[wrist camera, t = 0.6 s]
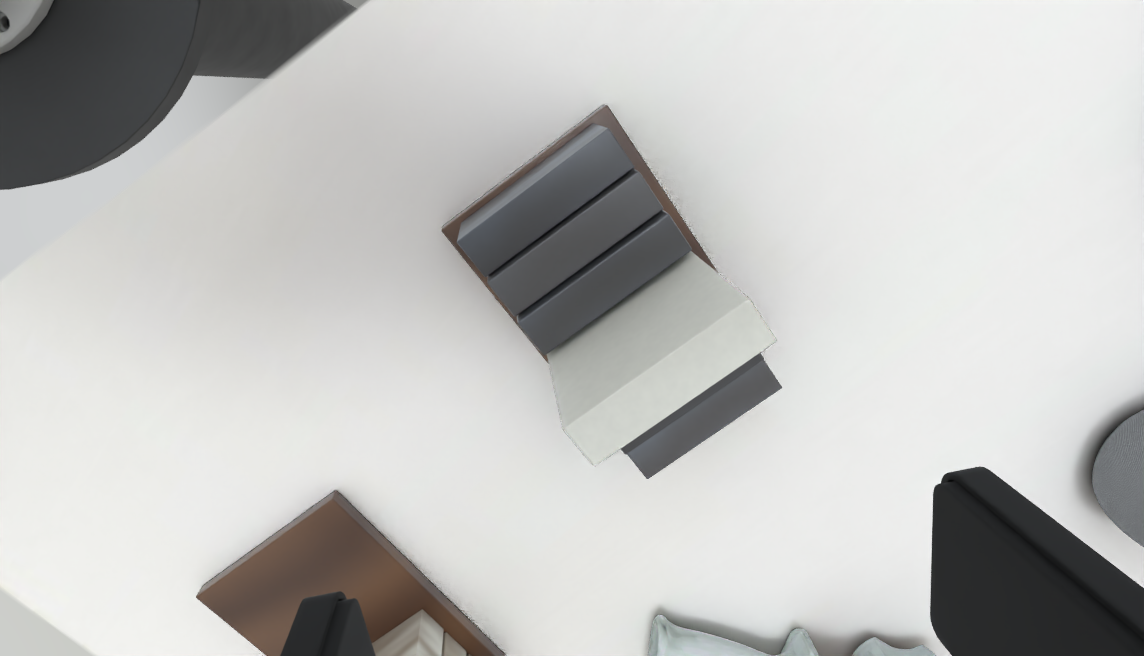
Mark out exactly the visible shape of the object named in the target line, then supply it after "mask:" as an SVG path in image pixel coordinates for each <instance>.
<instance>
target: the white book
mask: <svg viewBox="0 0 1144 656" xmlns="http://www.w3.org/2000/svg"><path fill="white" fill-rule="evenodd" d="M776 341H777V340H776V338H775V337H774V335H773V334H772V332H771V331H770V329H769V327H768V326H767V324H766V323H765V321H764V320H763V318H762V317H761V315H760V314H759V312H758V311H757V309H756V308H755V306H754V304H753V303H752V301H751V300H750V299H749V298H748V297H747V296H746V295H745V294H743V293H742V292H741V291H740V290H738V289H737V288H736V287H735V286H733V285H732V284H731V283H730V282H728V281H727V280H726V279H725V278H724V277H722V276H721V275H720V274H719V273H717V272H716V271H715V270H714V269H712V268H711V267H710V266H709V265H707V264H706V263H705V262H704V261H703V260H701V259H700V258H699V257H698V256H696V255H695V254H694V253H693V252H691V251H690V252H689V253H687V254H686V255H684V256H683V257H682V258H680V259H679V260H677V261H676V262H675V263H673V264H672V265H671V266H669V267H668V268H666V269H665V270H664V271H662V272H661V273H659V274H658V275H657V276H655V277H654V278H652V279H651V280H650V281H648V282H647V283H645V284H644V285H643V286H641V287H640V288H638V289H637V290H636V291H634V292H633V293H631V294H630V295H629V296H627V297H626V298H624V299H623V300H622V301H620V302H619V303H617V304H616V305H615V306H613V307H612V308H611V309H609V310H608V311H606V312H605V313H604V314H602V315H601V316H599V317H598V318H597V319H595V320H594V321H592V322H591V323H590V324H588V325H587V326H585V327H584V328H583V329H581V330H580V331H578V332H577V333H576V334H574V335H573V336H571V337H570V338H569V339H567V340H566V341H564V342H563V343H562V344H560V345H559V346H557V347H556V348H555V349H553V350H552V351H551V352H549V353H548V354H547V358H548V362H549V367H550V372H551V377H552V381H553V386H554V391H555V396H556V400H557V405H558V410H559V414H560V419H561V424H562V429H563V431H564V432H565V433H566V434H567V435H568V437H569V438H570V439H571V440H572V441H573V443H574V444H575V445H576V446H577V447H578V449H579V450H580V451H581V452H582V453H583V455H584V456H585V457H586V458H587V459H588V461H589V462H590V463H591V464H592V465H593V466H594V467H595V466H596V465H598V464H599V463H601V462H602V461H604V460H605V459H606V458H608V457H609V456H611V455H612V454H614V453H615V452H617V451H618V450H619V449H621V448H622V447H624V446H625V445H627V444H628V443H630V442H631V441H633V440H634V439H635V438H637V437H638V436H640V435H641V434H643V433H644V432H646V431H647V430H649V429H650V428H651V427H653V426H654V425H656V424H657V423H659V422H660V421H662V420H663V419H664V418H666V417H667V416H669V415H670V414H672V413H673V412H675V411H676V410H678V409H679V408H680V407H682V406H683V405H685V404H686V403H688V402H689V401H691V400H692V399H693V398H695V397H696V396H698V395H699V394H701V393H702V392H704V391H705V390H707V389H708V388H709V387H711V386H712V385H714V384H715V383H717V382H718V381H720V380H721V379H722V378H724V377H725V376H727V375H728V374H730V373H731V372H733V371H734V370H736V369H737V368H738V367H740V366H741V365H743V364H744V363H746V362H747V361H749V360H750V359H751V358H753V357H754V356H756V355H757V354H759V353H760V352H762V351H763V350H765V349H766V348H767V347H769V346H770V345H772V344H773V343H775V342H776Z"/></svg>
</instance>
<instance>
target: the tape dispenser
mask: <svg viewBox="0 0 1144 656" xmlns="http://www.w3.org/2000/svg"><path fill="white" fill-rule="evenodd" d="M648 656H819V654H818V652H817V650H816V648H815V646H814V644H813V642H812V640H811V638H810V636H809V634H808V633H807V631H806V630H804V629H800V628H797V629H794V630H793V631H791V633H790V634H789V636H788V638H787V640H786V643H785V645H784V647H783V650H782V652H781V654H779V655H769V654H766V653H764V652H761V651H758V650H756V649H753V648H751V647H748V646H746V645H743V644H741V643H738V642H734V641H731V640H728V639H725V638H722V637H718V636H715V635H711V634H708V633H704V632H700V631H695V630H691V629H686V628H682V627H679V626H676V625H674V624H672V623H671V622H669V621H668V620H667V619H666V617H665V616H663V615H657V616H656V617H655V619H654V621H653V624H652V631H651V637H650V643H649V653H648ZM852 656H936V655H935V654H934V653H933V652H932V651H930V650H929V649H928V648H927V647H925V646H924V645H920V646H917V647H915V648H911V649H897V648H894V647H891V646H889V645H887V644H886V643H884V642H882V641H881V640H879V639H878V638H876V637H873V638H871V639H869V640H867V641H865V642H864V643H862V644H861V645H860V646H859V647H858V648H857V649H856V650H855V651H854V653H853V655H852Z"/></svg>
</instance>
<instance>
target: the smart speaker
mask: <svg viewBox="0 0 1144 656" xmlns="http://www.w3.org/2000/svg"><path fill="white" fill-rule="evenodd" d="M1092 484H1093V489H1094V492H1095V495H1096V498H1097V500H1098V502H1099V504H1100V506H1101V507H1102V509H1103V510H1104V512H1105V513H1106V514H1107V516H1108V517H1109V518H1110V519H1111V520H1112V521H1113V522H1114V523H1115V524H1116V525H1117V526H1118V527H1119V528H1120V529H1121V530H1122V531H1123V532H1124V533H1125V534H1127V535H1128V536H1129V537H1130V538H1132V539H1133V540H1134V541H1136V542H1137V543H1139V544H1140V545H1141V546H1143V547H1144V410H1142V411H1140V412H1138V413H1136V414H1134V415H1132V416H1131V417H1129V418H1128V419H1126V420H1125V421H1123V422H1122V423H1121V424H1120V425H1119V426H1117V427H1116V428H1115V429H1114V430H1113V431H1112V432H1111V434H1110V435H1109V436H1108V437H1107V438H1106V440H1105V441H1104V443H1103V444H1102V446H1101V448H1100V449H1099V452H1098V454H1097V456H1096V459H1095V462H1094V466H1093V472H1092Z"/></svg>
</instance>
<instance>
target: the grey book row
mask: <svg viewBox="0 0 1144 656" xmlns="http://www.w3.org/2000/svg"><path fill="white" fill-rule="evenodd" d="M442 232H443V233H444V235H445V236H446V237H447V238H448V240H449V241H450V242H451V243H452V245H453V246H454V247H455V248H456V250H457V251H458V252H459V253H460V255H461V256H462V257H463V258H464V260H465V261H466V262H467V263H468V264H469V266H470V267H471V268H472V269H473V271H474V272H475V273H476V274H477V276H478V277H479V278H480V279H481V281H482V282H483V283H484V284H485V286H486V287H487V288H488V289H489V290H490V292H491V293H492V294H493V295H494V297H495V298H496V299H497V300H498V302H499V303H500V304H501V305H502V307H503V308H504V309H505V310H506V312H507V313H508V314H509V315H510V317H511V318H512V319H513V320H514V321H515V323H516V324H517V325H518V326H519V328H520V329H521V330H522V331H523V333H524V334H525V335H526V336H527V338H528V339H529V340H530V341H531V343H532V344H533V345H534V346H535V347H536V349H537V350H538V351H539V352H540V354H541V355H542V356H543V357H544V359H545V360H546V361H547V362H548V358H547V354H548V353H549V352H551V351H552V350H553V349H555V348H556V347H557V346H559V345H560V344H562V343H563V342H564V341H566V340H567V339H569V338H570V337H571V336H573V335H574V334H576V333H577V332H578V331H580V330H581V329H583V328H584V327H585V326H587V325H588V324H590V323H591V322H592V321H594V320H595V319H597V318H598V317H599V316H601V315H602V314H604V313H605V312H606V311H608V310H609V309H611V308H612V307H613V306H615V305H616V304H617V303H619V302H620V301H622V300H623V299H624V298H626V297H627V296H629V295H630V294H631V293H633V292H634V291H636V290H637V289H638V288H640V287H641V286H643V285H644V284H645V283H647V282H648V281H650V280H651V279H652V278H654V277H655V276H657V275H658V274H659V273H661V272H662V271H664V270H665V269H666V268H668V267H669V266H671V265H672V264H673V263H675V262H676V261H677V260H679V259H680V258H682V257H683V256H684V255H686V254H687V253H689V252H690V251H691V252H693V253H694V254H695V255H696V256H698V257H699V258H700V259H701V260H703V261H704V262H705V263H706V264H707V265H709V266H710V267H711V268H712V269H714V270H715V271H716V272H717V270H716V269H715V267H714V266H713V264H712V263H711V261H710V260H709V258H708V257H707V255H706V254H705V252H704V251H703V249H702V248H701V246H700V245H699V243H698V242H697V240H696V239H695V237H694V236H693V234H692V233H691V231H690V229H689V228H688V226H687V225H686V223H685V222H684V220H683V219H682V217H681V216H680V214H679V213H678V211H677V210H676V208H675V207H674V205H673V204H672V202H671V201H670V199H669V198H668V196H667V195H666V193H665V192H664V190H663V189H662V187H661V186H660V184H659V183H658V181H657V180H656V178H655V177H654V175H653V174H652V172H651V170H650V169H649V167H648V166H647V164H646V163H645V161H644V160H643V158H642V157H641V155H640V154H639V152H638V151H637V149H636V148H635V146H634V145H633V143H632V142H631V140H630V139H629V137H628V136H627V134H626V133H625V131H624V130H623V128H622V127H621V125H620V124H619V122H618V121H617V119H616V118H615V116H614V114H613V113H612V111H611V110H610V108H609V107H608V106H607V105H602V106H601V107H600V108H598V109H597V110H596V111H594V112H593V113H592V114H590V115H589V116H588V117H586V118H585V119H584V120H582V121H581V122H580V123H578V124H577V125H576V126H574V127H573V128H572V129H571V130H569V131H568V132H567V133H565V134H564V135H563V136H561V137H560V138H559V139H557V140H556V141H555V142H553V143H552V144H551V145H549V146H548V147H547V148H545V149H544V150H543V151H541V152H540V153H539V154H537V155H536V156H535V157H533V158H532V159H531V160H529V161H528V162H527V163H525V164H524V165H523V166H522V167H520V168H519V169H518V170H516V171H515V172H514V173H512V174H511V175H510V176H508V177H507V178H506V179H504V180H503V181H502V182H500V183H499V184H498V185H496V186H495V187H494V188H492V189H491V190H490V191H488V192H487V193H486V194H484V195H483V196H482V197H480V198H479V199H478V200H477V201H475V202H474V203H473V204H471V205H470V206H469V207H467V208H466V209H465V210H463V211H462V212H461V213H459V214H458V215H457V216H455V217H454V218H453V219H451V220H450V221H449V222H447V223H446V224H445V225H443V227H442ZM717 273H718V272H717ZM548 364H549V362H548ZM781 388H782V386H781V385H780V383H779V382H778V380H777V379H776V378H775V376H774V375H773V373H772V372H771V370H770V369H769V367H768V366H767V364H766V363H765V361H764V358H763V356H762V355H761V352H760V353H759V354H757V355H756V356H754V357H753V358H751V359H750V360H749V361H747V362H746V363H744V364H743V365H741V366H740V367H738V368H737V369H736V370H734V371H733V372H731V373H730V374H728V375H727V376H725V377H724V378H722V379H721V380H720V381H718V382H717V383H715V384H714V385H712V386H711V387H709V388H708V389H707V390H705V391H704V392H702V393H701V394H699V395H698V396H696V397H695V398H693V399H692V400H691V401H689V402H688V403H686V404H685V405H683V406H682V407H680V408H679V409H678V410H676V411H675V412H673V413H672V414H670V415H669V416H667V417H666V418H664V419H663V420H662V421H660V422H659V423H657V424H656V425H654V426H653V427H651V428H650V429H649V430H647V431H646V432H644V433H643V434H641V435H640V436H638V437H637V438H635V439H634V440H633V441H631V442H630V443H628V444H627V445H625V446H624V447H622V448H621V450H622V451H623V452H624V454H627V455H628V456H629V457H630V459H631V460H632V461H633V462H634V464H635V465H636V466H637V467H638V468H639V470H640V471H641V472H642V473H643V475H644V476H645V477H646V478H647V479H649V478H650V477H652V476H653V475H655V474H656V473H658V472H659V471H660V470H662V469H663V468H665V467H666V466H668V465H669V464H671V463H672V462H674V461H675V460H677V459H678V458H680V457H681V456H683V455H684V454H685V453H687V452H688V451H690V450H691V449H693V448H694V447H696V446H697V445H699V444H700V443H702V442H703V441H705V440H706V439H707V438H709V437H710V436H712V435H713V434H715V433H716V432H718V431H719V430H721V429H722V428H724V427H725V426H727V425H728V424H730V423H731V422H732V421H734V420H735V419H737V418H738V417H740V416H741V415H743V414H744V413H746V412H747V411H749V410H750V409H752V408H753V407H755V406H756V405H757V404H759V403H760V402H762V401H763V400H765V399H766V398H768V397H769V396H771V395H772V394H774V393H775V392H777V391H778V390H780V389H781ZM619 450H620V449H619Z"/></svg>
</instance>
